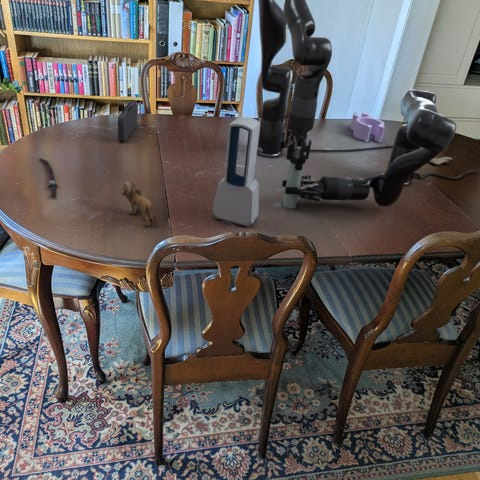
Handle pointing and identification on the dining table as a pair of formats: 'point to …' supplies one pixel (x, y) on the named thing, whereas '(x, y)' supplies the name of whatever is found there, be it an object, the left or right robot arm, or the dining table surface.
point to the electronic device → (239, 178)
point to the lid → (294, 158)
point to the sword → (52, 181)
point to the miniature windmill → (292, 81)
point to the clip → (367, 127)
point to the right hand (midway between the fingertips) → (284, 186)
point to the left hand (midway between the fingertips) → (293, 164)
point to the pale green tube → (292, 181)
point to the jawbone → (440, 160)
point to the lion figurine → (137, 201)
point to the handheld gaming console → (127, 121)
